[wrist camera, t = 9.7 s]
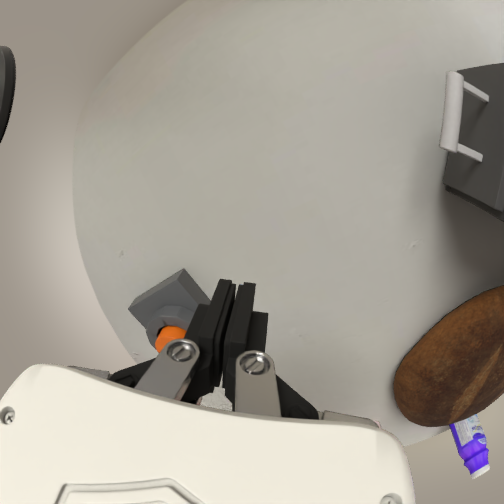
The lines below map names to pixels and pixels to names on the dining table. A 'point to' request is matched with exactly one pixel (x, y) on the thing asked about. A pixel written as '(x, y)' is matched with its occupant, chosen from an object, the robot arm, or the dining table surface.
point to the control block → (168, 304)
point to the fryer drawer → (475, 133)
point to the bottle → (471, 445)
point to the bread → (455, 364)
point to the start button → (168, 336)
